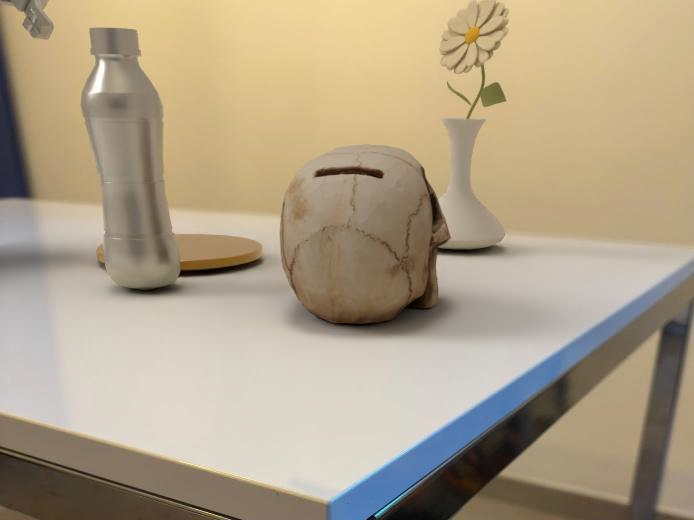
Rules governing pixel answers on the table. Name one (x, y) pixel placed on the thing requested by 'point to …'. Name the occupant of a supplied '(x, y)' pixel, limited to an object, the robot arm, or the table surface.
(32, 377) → the table surface
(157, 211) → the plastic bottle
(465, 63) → the flower in vase
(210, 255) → the plate
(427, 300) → the coin bank
